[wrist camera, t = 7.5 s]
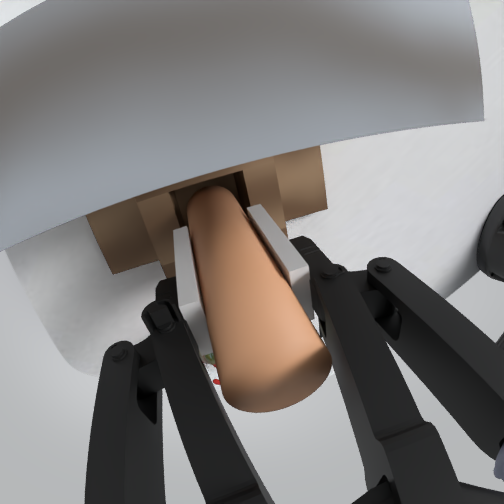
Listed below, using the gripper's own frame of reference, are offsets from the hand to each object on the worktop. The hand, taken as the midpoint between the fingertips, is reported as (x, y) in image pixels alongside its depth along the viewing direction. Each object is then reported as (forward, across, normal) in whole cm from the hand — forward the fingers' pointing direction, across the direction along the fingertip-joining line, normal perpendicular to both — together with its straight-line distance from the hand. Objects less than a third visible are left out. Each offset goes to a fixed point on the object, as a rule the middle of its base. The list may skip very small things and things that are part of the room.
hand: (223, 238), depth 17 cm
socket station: (+10, 0, -3) cm, 10 cm away
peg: (+4, 0, 0) cm, 4 cm away
